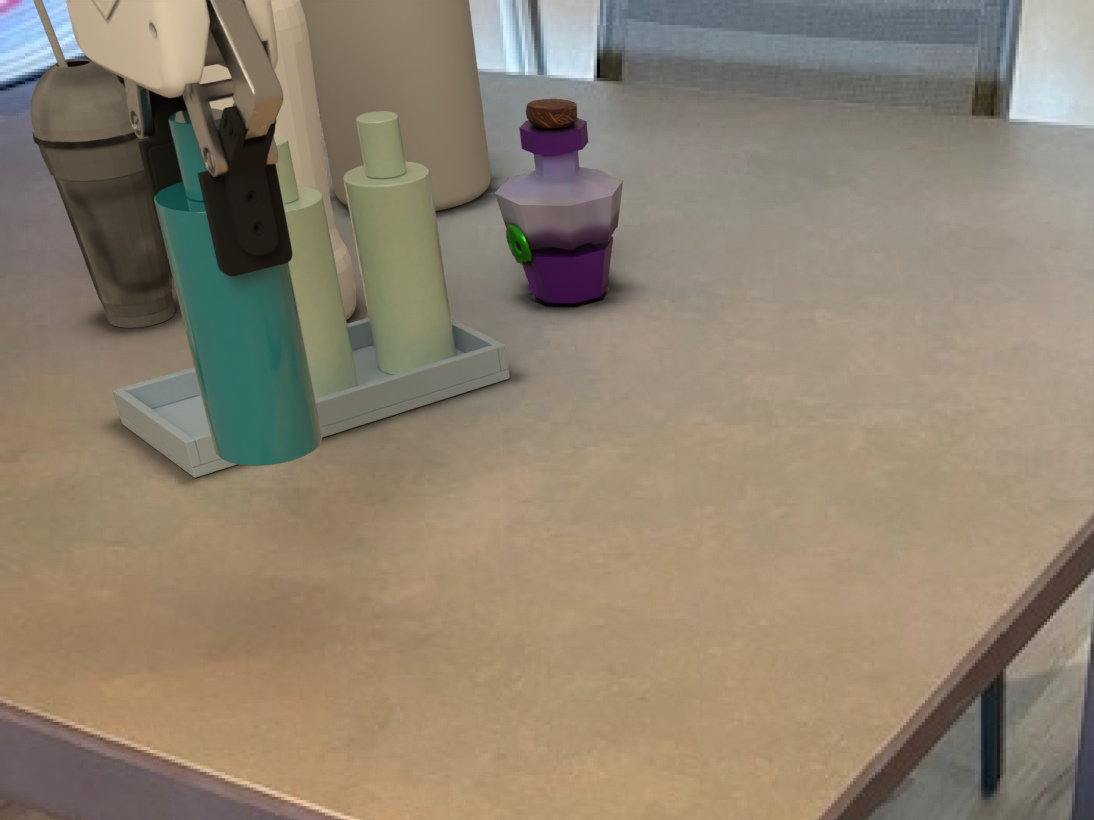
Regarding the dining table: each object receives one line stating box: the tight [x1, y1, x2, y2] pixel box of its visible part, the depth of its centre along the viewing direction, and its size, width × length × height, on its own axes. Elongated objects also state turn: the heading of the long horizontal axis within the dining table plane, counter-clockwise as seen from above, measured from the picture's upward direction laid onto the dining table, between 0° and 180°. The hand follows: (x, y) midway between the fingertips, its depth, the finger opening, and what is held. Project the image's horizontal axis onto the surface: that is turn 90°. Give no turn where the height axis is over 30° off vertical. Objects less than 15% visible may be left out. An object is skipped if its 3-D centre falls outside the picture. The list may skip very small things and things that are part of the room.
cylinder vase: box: [300, 0, 492, 212], centre depth 123 cm, size 12×12×25 cm
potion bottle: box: [494, 98, 624, 308], centre depth 109 cm, size 9×9×12 cm
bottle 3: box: [343, 111, 457, 375], centre depth 99 cm, size 5×5×14 cm
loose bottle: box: [154, 108, 323, 467], centre depth 72 cm, size 5×5×14 cm
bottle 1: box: [199, 0, 357, 321], centre depth 101 cm, size 8×8×30 cm
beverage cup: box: [30, 0, 176, 329], centre depth 106 cm, size 7×7×20 cm
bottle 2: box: [274, 135, 359, 399], centre depth 95 cm, size 5×5×14 cm
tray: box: [112, 317, 511, 479], centre depth 100 cm, size 21×10×2 cm, turn 129°
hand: (225, 246), depth 71 cm, fingers closed on loose bottle, 5 cm apart
